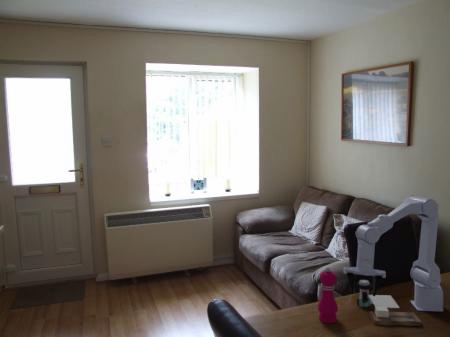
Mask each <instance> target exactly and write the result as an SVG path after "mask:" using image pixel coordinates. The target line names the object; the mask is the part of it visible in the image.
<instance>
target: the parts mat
mask: <svg viewBox="0 0 450 337" xmlns="http://www.w3.org/2000/svg"><path fill="white" fill-rule="evenodd" d="M369 299H370V300H373V301H371V302H372V304H373V306H374V308H375V307H387V309H400V306H399V305H398V303H397V302H396V300H395V299H394V298H393V297H392V295H390V294H389V295H386V294H385V295H384V294H381V295H379V294H376V295H375V296H373V295H372V294H369Z"/></svg>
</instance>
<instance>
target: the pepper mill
mask: <svg viewBox="0 0 450 337" xmlns="http://www.w3.org/2000/svg"><path fill="white" fill-rule="evenodd" d="M319 281H320V282H321V283H320V288H321V290H322V293H321V297H320V298H319V301H318V303H317V311H319V313H318V318H319V320H320V321H321V322H323V323H326V324H333V323H336V321H337V313H338V311H339V307H338V303H337V301H336V298H335V295H334V290H335V289H336V283H337V276H336V274H335V273H334V272H333V271H331V268H330V267H329V266H326V267H325V269H324V270H323V271H321V272H320V274H319Z"/></svg>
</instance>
